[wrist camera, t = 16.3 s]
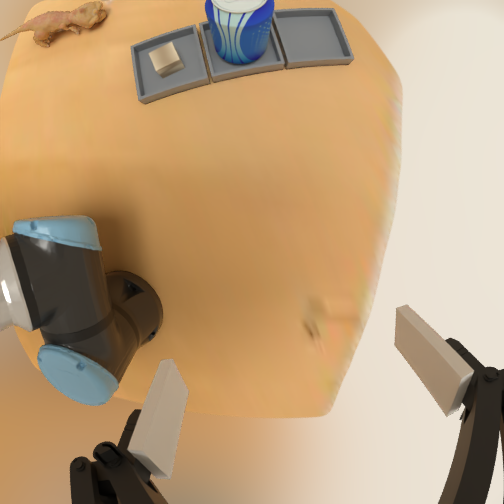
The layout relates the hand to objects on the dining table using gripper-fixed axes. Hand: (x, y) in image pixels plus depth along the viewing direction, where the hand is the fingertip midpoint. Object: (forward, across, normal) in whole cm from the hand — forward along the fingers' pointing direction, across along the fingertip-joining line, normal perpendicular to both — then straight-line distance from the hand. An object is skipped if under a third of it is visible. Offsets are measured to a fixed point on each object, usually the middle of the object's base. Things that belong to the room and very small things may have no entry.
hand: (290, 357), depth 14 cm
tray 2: (+32, +16, +32) cm, 48 cm away
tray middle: (+32, +4, +32) cm, 45 cm away
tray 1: (+32, -8, +32) cm, 46 cm away
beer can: (+31, +4, +32) cm, 45 cm away
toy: (+32, -28, +53) cm, 68 cm away
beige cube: (+31, -8, +32) cm, 45 cm away
